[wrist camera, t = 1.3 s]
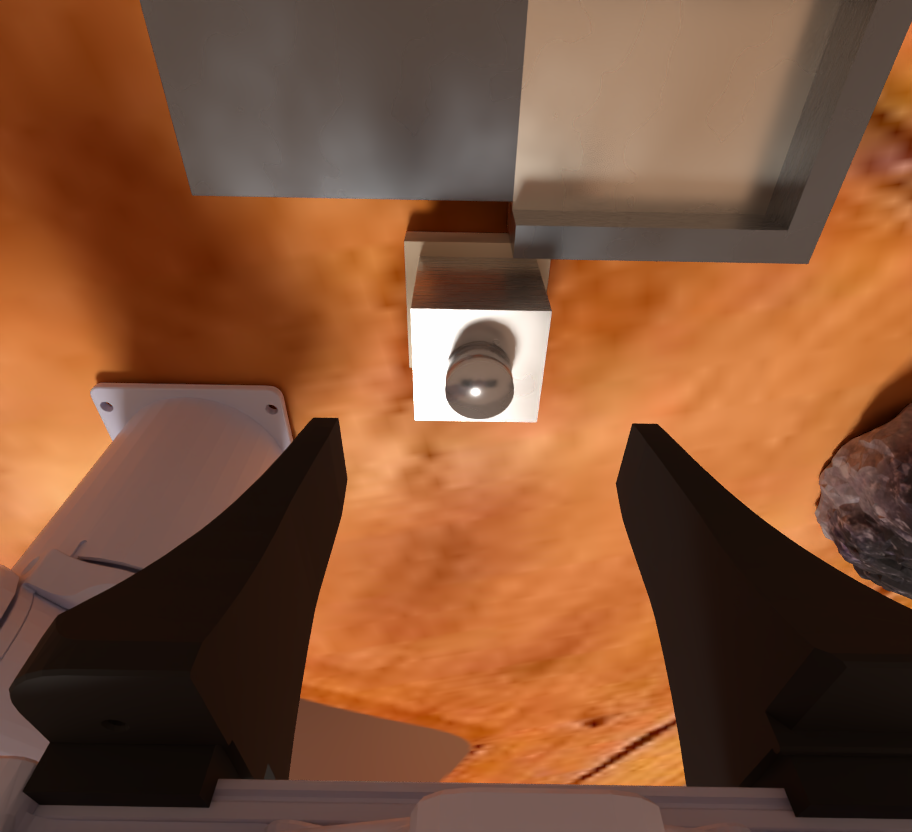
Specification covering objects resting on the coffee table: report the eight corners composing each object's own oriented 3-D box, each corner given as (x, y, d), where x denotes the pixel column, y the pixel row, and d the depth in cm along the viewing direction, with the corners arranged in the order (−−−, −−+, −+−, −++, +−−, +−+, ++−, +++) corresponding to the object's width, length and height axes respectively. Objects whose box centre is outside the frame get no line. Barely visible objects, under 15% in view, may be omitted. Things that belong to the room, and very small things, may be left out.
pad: (534, 356, 22) (536, 369, 21) (411, 354, 22) (409, 367, 21) (548, 233, 19) (552, 244, 18) (406, 231, 19) (404, 241, 18)
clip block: (525, 358, 21) (540, 446, 17) (422, 356, 21) (412, 443, 17) (536, 258, 19) (557, 331, 14) (419, 256, 18) (407, 329, 14)
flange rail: (764, 230, 19) (807, 263, 17) (219, 220, 19) (184, 252, 16) (867, -53, 14) (948, -65, 12) (148, -69, 14) (85, -82, 12)
